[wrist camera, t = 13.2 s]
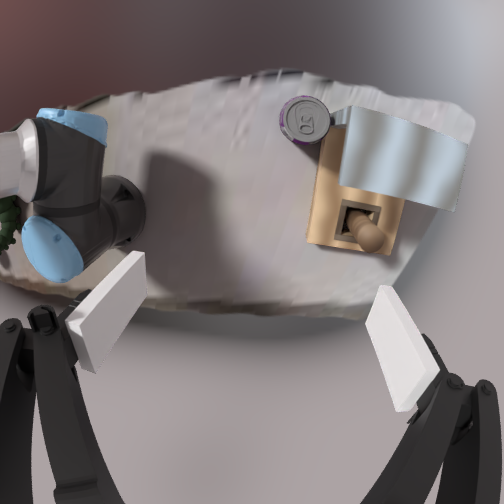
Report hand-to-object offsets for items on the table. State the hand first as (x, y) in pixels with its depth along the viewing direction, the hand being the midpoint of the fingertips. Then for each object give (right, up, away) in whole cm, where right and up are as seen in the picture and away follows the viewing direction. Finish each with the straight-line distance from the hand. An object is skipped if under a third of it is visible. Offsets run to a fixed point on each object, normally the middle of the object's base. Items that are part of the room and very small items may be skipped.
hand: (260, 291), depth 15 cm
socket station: (+19, +14, +32) cm, 40 cm away
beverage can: (+8, +24, +29) cm, 39 cm away
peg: (+18, +9, +35) cm, 40 cm away
